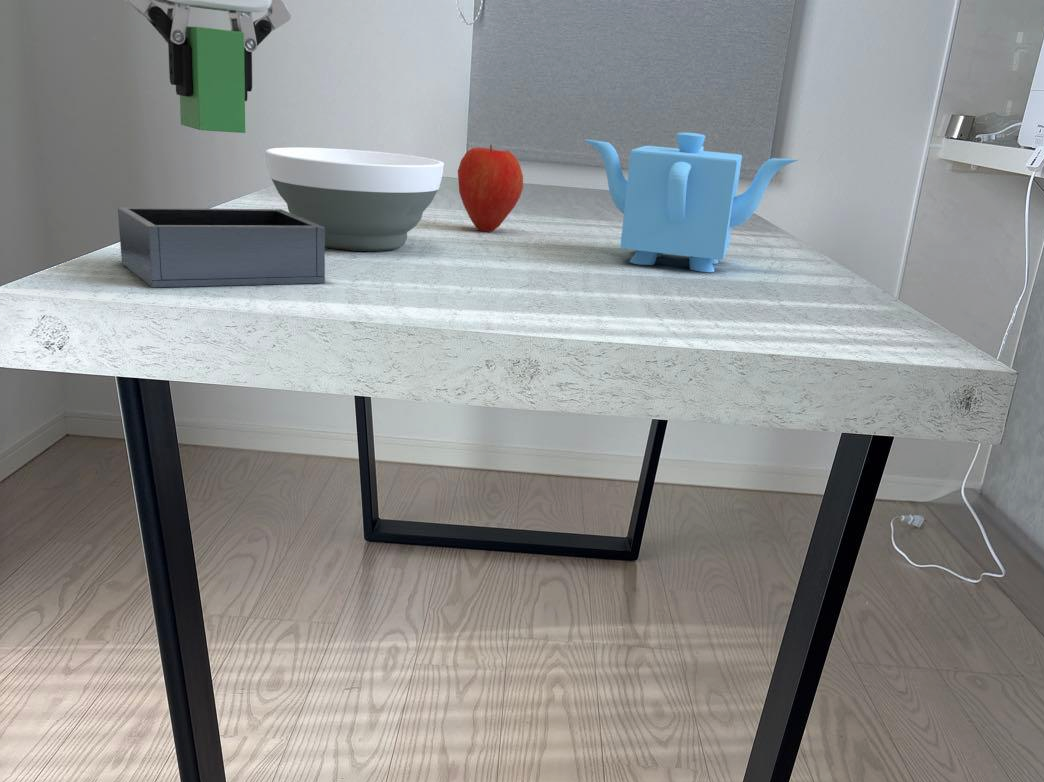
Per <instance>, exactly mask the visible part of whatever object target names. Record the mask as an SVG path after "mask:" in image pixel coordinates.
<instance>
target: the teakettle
mask: <svg viewBox="0 0 1044 782" xmlns="http://www.w3.org/2000/svg"><path fill="white" fill-rule="evenodd" d="M676 140H677V141H676V142H677V145H678V148H677V147H666V146H654V145H643V146H640V147H637V148H633V149H631V151H630V153H629V162H628V171H627V179H626V178H625V176H624V173H623V171H622V170H623V169H622V166H621V163H620V161H621V160H620V158H619V155H618V152H617V150H616V148H615V147H614V146H613V145H612V144H611V143H610V142H608V141H601V140H595V139H584V141H585V142H586V143H588V144H589V145H590V146H591V147H593V148H594V149H596V151H597V152H598V153H599V154H600V156H601V160H602V161H603V164H604V169H605V174H606V180H607V185H608V192H609V194H610V198H611V200H612V202H613V203H614V205H615V207H616V208H617V209H618V210H619V211H620V212H621V213H622V214H623V216H622V217H623V219H622V229H621V237H620V247H619V248H620V249H623V250H631V251H636V252H635V253H634V254H633V256H632V257H631V258H630V260H629V263H631V264H635V265H640V266H653V265H655V263H656V261H657V258H660V257H662V254H666V255H676V256H684V257H685V256H686V257H688V260H689V270H690V271H695V272H702V273H714V272H715V268H714V264H719V260H720V261H723V260H724V258H725V256H726V254H727V251H728V249H729V246H730V242H731V235H732V228H735V227H737V226H740V225H742V224H743V223H745V222H746V221H748V220H749V219H750V218H751V217H752V216H753V215H754V213H755V212H756V211H757V209H758V207H759V205H760V203H761V202H762V199H763V196H764V194H765V193H766V190H767V187H768V186H769V184H770V183H771V180H772V178H774V176H775V175H776V174H777V172H779V171H780V170H781V169H782V168H784V167H786V166H788V165H790V164H793V163H795V162H798V159H796V158H795V159H793V158H778V157H773V158H769V159H767V160H766V161H765V162H764V163H762V165H761V166H760V167H759V169H758V170H757V172H756V174H755V175H754V178H753V180H752V181H751V183H750V185H749V187H748V188H747V189H746V191H744V192H742V193H740V194H738V195H737V193H738V187H739V180H740V175H741V166H742V160H743V156H742V154H738V153H729V152H728V153H727V152H720V151H719V152H718V151H708V150H705V147H704V146H703V144H704V142H705V140H706V135H704V134H701V133H696V132H678V133H676Z"/></svg>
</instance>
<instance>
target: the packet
mask: <svg viewBox="0 0 1044 782" xmlns="http://www.w3.org/2000/svg"><path fill="white" fill-rule="evenodd" d="M186 37H187V40H188V45H189V46H190V47H191V49H192V69H193V95H191V97H187V96H181V95H179V113H180V125H181V126H184V127H188V128H192V129H195V130H199V131H209V132H222V133H223V132H224V133H238V134H239V133H240V134H246V101H245V75H244V32H238V31H231V30H228V29H219V28H210V27H204V26H203V27H202V26H187V32H186Z"/></svg>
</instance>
